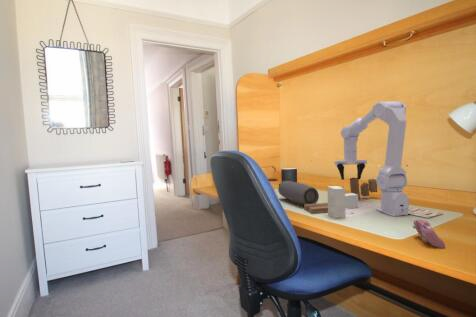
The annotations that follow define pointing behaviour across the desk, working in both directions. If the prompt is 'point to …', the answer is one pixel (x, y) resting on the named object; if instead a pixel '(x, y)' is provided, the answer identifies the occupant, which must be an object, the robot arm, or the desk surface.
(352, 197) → the brick
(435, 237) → the pink lumpy wedge
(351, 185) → the wooden block set
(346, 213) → the cream rectangular panel
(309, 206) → the base slab
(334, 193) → the skincare box
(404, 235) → the desk surface
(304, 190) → the bluetooth speaker
